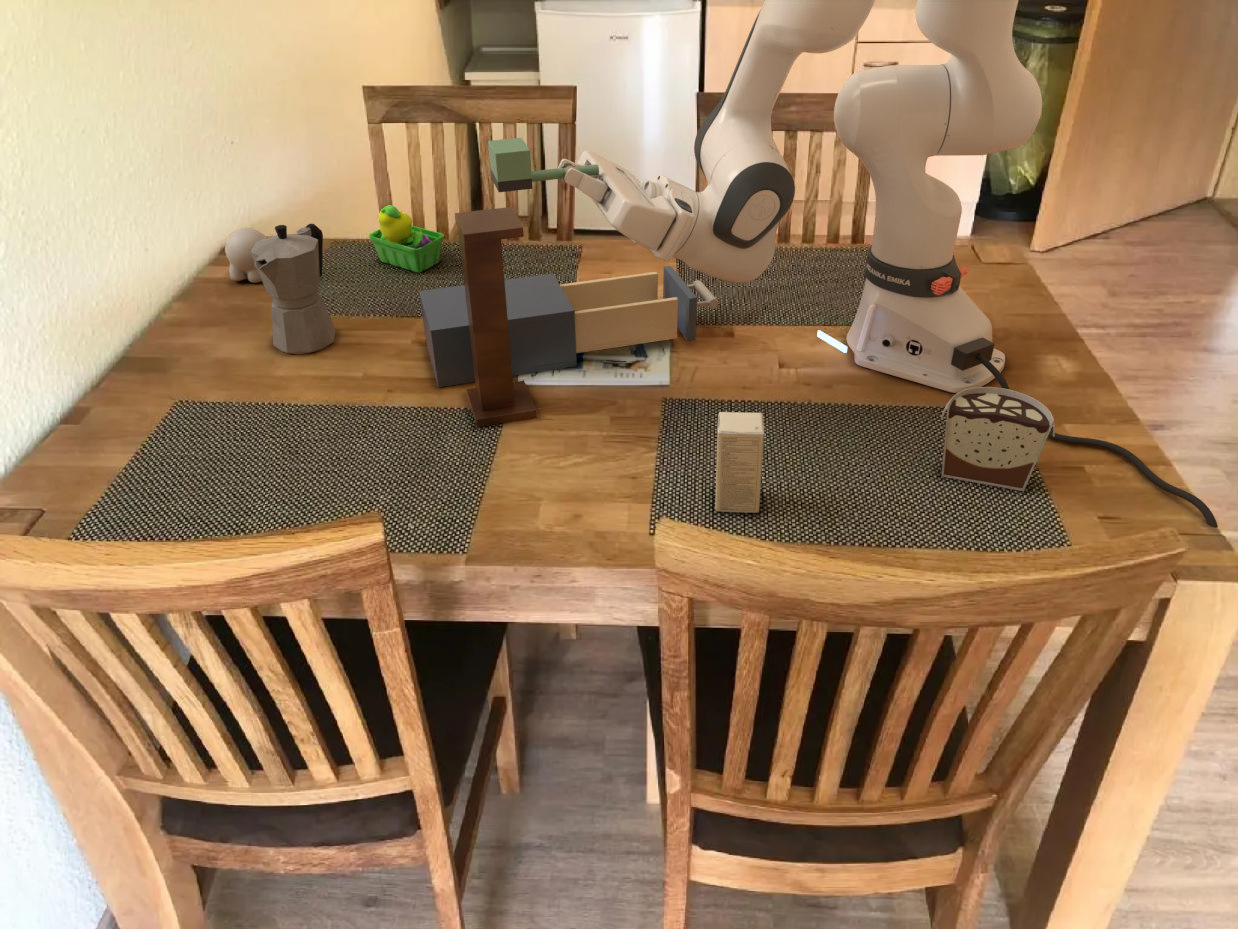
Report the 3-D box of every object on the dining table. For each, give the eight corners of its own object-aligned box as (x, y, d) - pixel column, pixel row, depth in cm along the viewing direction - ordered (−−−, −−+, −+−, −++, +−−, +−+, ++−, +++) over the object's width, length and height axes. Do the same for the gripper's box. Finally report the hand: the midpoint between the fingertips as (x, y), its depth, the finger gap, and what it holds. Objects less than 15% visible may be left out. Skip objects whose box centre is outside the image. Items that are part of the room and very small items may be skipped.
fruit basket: (449, 261, 170) (442, 198, 163) (415, 280, 164) (406, 215, 157) (400, 248, 175) (391, 186, 168) (365, 265, 169) (354, 202, 162)
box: (758, 491, 115) (765, 412, 108) (759, 514, 111) (766, 433, 105) (713, 489, 115) (718, 410, 109) (712, 512, 112) (717, 431, 105)
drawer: (695, 303, 153) (697, 262, 149) (722, 336, 144) (725, 293, 140) (554, 323, 148) (551, 281, 144) (572, 358, 139) (571, 315, 135)
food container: (1037, 464, 119) (1058, 394, 113) (1037, 493, 114) (1059, 421, 108) (932, 446, 122) (947, 377, 116) (928, 474, 117) (943, 403, 111)
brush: (498, 192, 112) (495, 153, 110) (491, 178, 116) (487, 140, 114) (603, 181, 115) (602, 142, 112) (592, 167, 119) (591, 130, 116)
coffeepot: (308, 365, 140) (282, 247, 130) (252, 356, 143) (222, 239, 132) (362, 318, 152) (342, 206, 142) (310, 310, 155) (286, 200, 144)
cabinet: (556, 326, 149) (553, 273, 144) (576, 366, 139) (574, 310, 134) (426, 345, 145) (418, 290, 140) (438, 387, 135) (430, 330, 130)
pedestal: (524, 387, 135) (510, 204, 120) (537, 417, 128) (524, 228, 113) (466, 396, 133) (445, 212, 118) (476, 427, 127) (455, 236, 111)
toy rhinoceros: (293, 289, 161) (282, 240, 156) (224, 285, 163) (212, 236, 158) (310, 271, 167) (300, 223, 162) (244, 267, 168) (232, 220, 164)
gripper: (646, 165, 129) (555, 120, 122) (698, 220, 113) (597, 172, 106) (624, 207, 131) (533, 165, 125) (671, 268, 115) (571, 223, 109)
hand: (563, 169), depth 115 cm, fingers closed on brush
